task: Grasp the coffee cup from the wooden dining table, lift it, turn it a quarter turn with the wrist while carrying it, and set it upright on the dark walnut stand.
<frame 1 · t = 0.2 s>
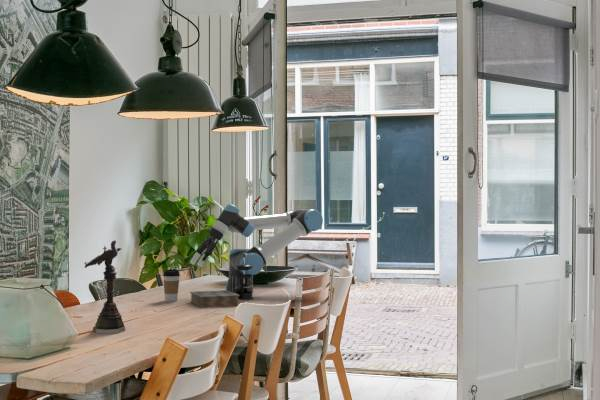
hand: (195, 264, 373), 16 cm above the table, tool tilted 35°, fingers open, 13 cm apart
walnut stand: (214, 303, 349), on the table
coffee cup: (171, 300, 357), on the table
bird statue: (102, 331, 275), on the table
french press: (242, 299, 368), on the table
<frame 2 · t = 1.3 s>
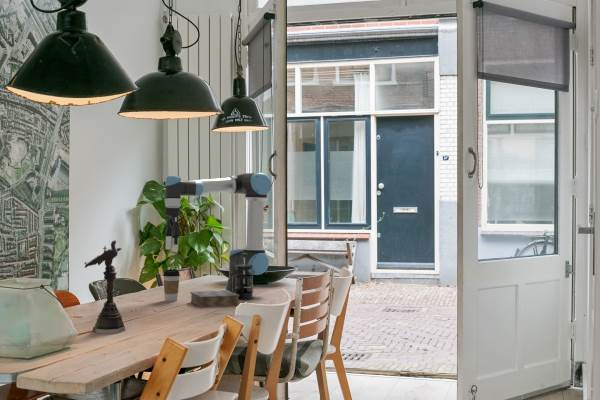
hand: (171, 250, 357), 25 cm above the table, tool pointing down, fingers open, 13 cm apart
nothing on the table moved.
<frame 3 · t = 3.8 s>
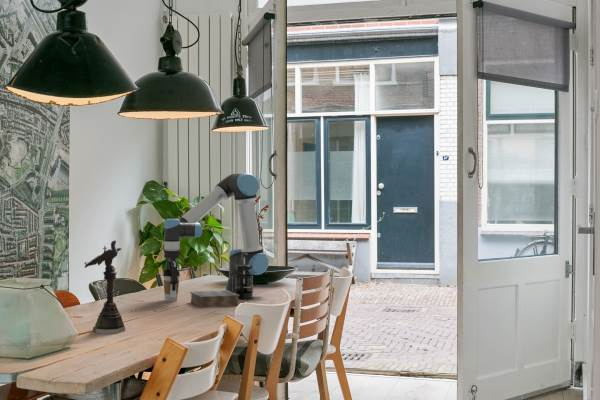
hand: (171, 296, 357), 2 cm above the table, tool pointing down, fingers closed on coffee cup, 8 cm apart
coffee cup: (171, 300, 357), on the table, touching gripper
everything else where it was.
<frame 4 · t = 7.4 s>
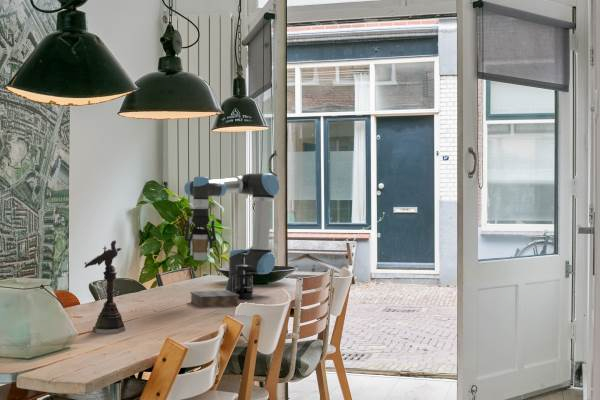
hand: (200, 255, 352), 23 cm above the table, tool pointing down, fingers closed on coffee cup, 8 cm apart
coffee cup: (200, 260, 352), point 21 cm above the table, touching gripper
everything else where it was.
when the fingers open (9 cm above the table, at t = 11.2 s): coffee cup drops 1 cm, resting on walnut stand.
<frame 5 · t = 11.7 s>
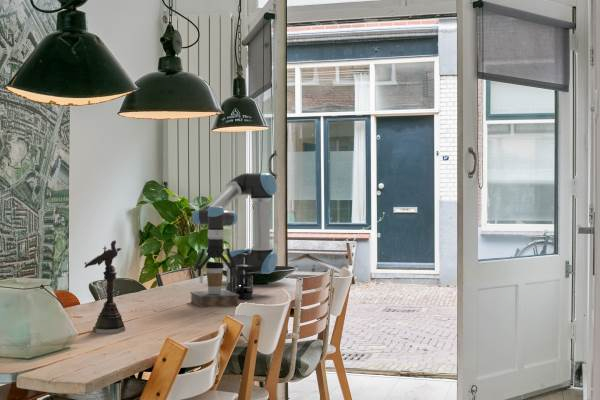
hand: (214, 282, 349), 10 cm above the table, tool pointing down, fingers open, 13 cm apart
coffee cup: (214, 293, 349), point 5 cm above the table, touching walnut stand
everything else where it was.
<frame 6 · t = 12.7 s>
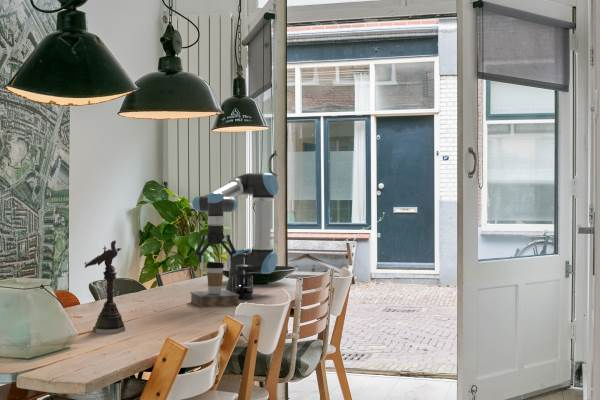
hand: (215, 268, 349), 17 cm above the table, tool pointing down, fingers open, 13 cm apart
nothing on the table moved.
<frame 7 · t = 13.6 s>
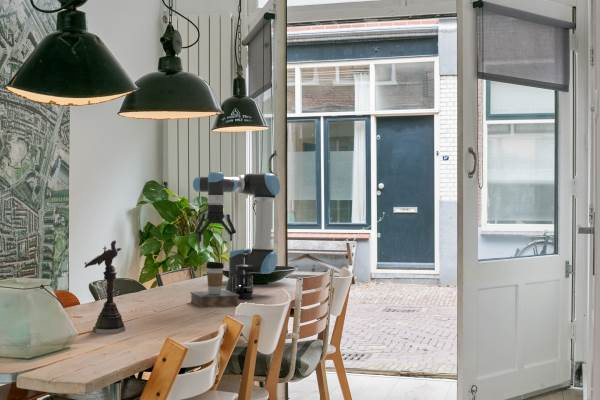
hand: (215, 248, 349), 27 cm above the table, tool pointing down, fingers open, 13 cm apart
nothing on the table moved.
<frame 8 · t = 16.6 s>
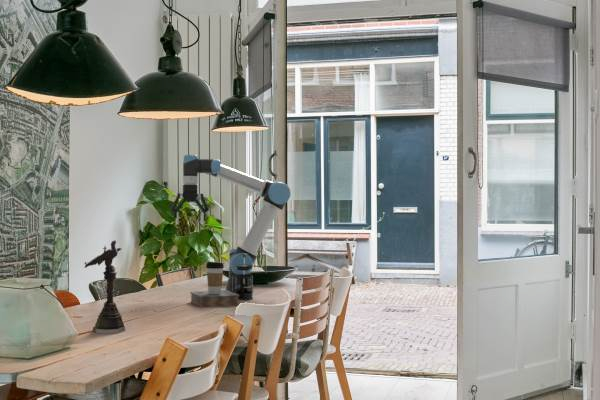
hand: (189, 224, 380), 37 cm above the table, tool pointing down, fingers open, 13 cm apart
nothing on the table moved.
at the end: coffee cup inside the target area on the walnut stand (0.0 cm from its centre), point 4.8 cm above the walnut stand's base; coffee cup tilted 0°; coffee cup touching walnut stand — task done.
